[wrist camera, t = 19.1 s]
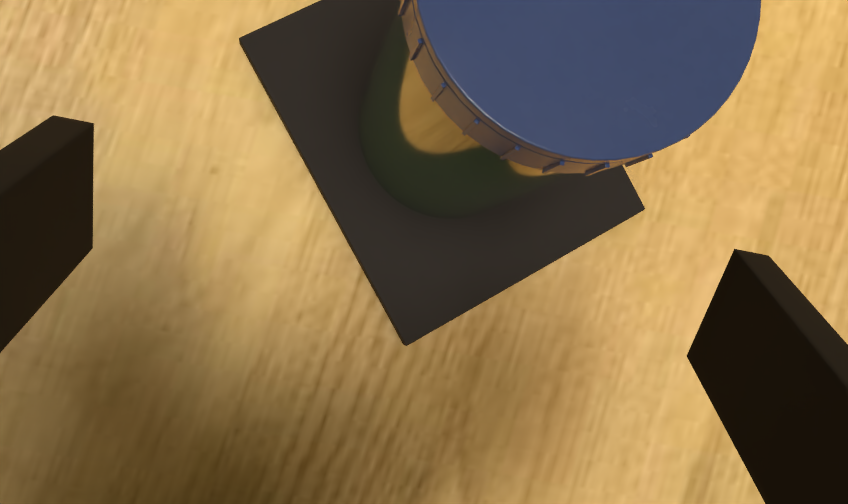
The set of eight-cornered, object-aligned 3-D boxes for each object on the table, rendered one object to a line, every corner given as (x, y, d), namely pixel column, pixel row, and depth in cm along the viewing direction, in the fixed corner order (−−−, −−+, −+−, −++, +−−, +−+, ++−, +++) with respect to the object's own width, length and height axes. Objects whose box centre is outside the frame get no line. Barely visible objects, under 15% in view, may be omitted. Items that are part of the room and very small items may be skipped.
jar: (324, 86, 30) (357, -100, 16) (483, 8, 32) (643, -227, 17) (413, 251, 31) (524, 213, 16) (567, 167, 32) (793, 64, 18)
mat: (239, 42, 30) (238, 37, 30) (489, -74, 33) (493, -80, 32) (403, 345, 31) (406, 346, 30) (639, 210, 33) (645, 208, 33)
